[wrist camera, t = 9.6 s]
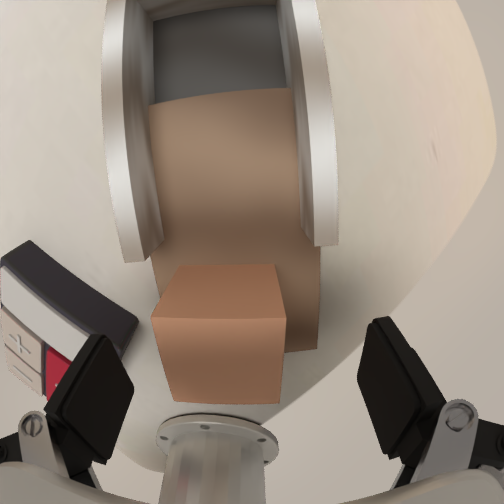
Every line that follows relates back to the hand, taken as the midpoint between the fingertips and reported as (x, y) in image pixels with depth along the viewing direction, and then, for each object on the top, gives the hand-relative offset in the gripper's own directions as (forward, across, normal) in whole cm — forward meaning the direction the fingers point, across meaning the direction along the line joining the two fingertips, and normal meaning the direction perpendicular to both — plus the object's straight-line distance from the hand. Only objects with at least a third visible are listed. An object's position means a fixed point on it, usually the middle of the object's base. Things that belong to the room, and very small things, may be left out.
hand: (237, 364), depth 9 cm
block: (+6, +1, +1) cm, 6 cm away
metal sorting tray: (+8, 0, -6) cm, 10 cm away
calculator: (+8, +16, +6) cm, 19 cm away
